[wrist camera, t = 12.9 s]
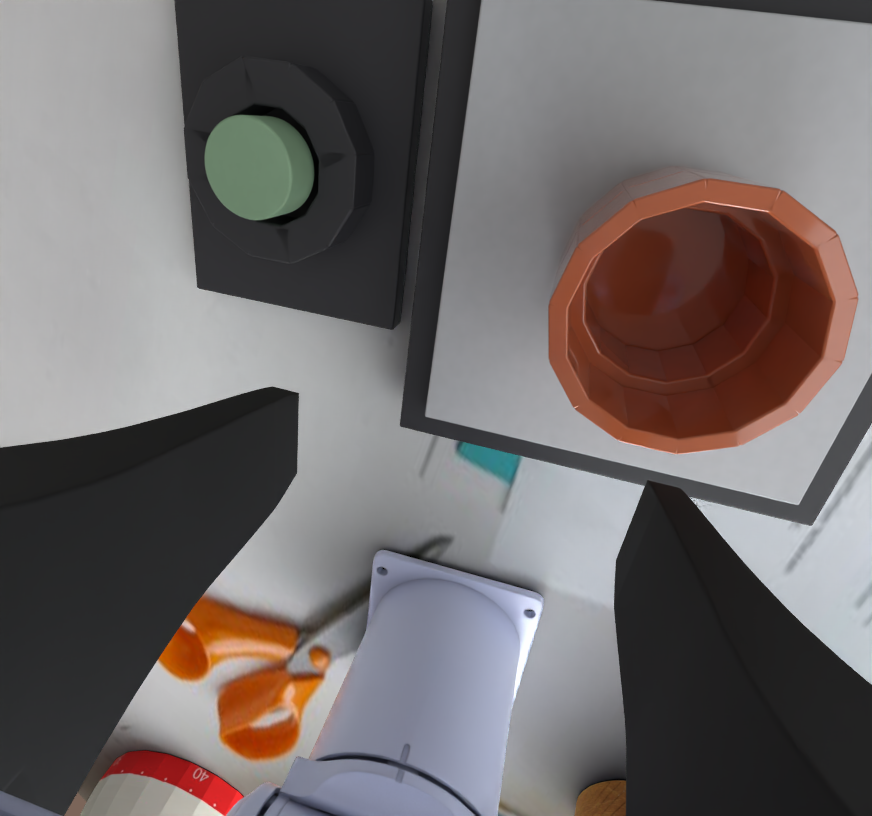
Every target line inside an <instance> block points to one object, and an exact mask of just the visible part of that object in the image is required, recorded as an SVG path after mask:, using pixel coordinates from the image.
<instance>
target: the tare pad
mask: <svg viewBox="0 0 872 816" xmlns="http://www.w3.org/2000/svg"><path fill="white" fill-rule="evenodd" d="M432 4H433V2H432V0H175V11H176V24H177V36H178V49H179V62H180V74H181V87H182V99H183V112H184V125H185V127H184V136H185V149H186V161H187V174H188V179H189V188H190V200H191V213H192V226H193V238H194V251H195V263H196V276H197V287H198V288H199V289H204V290H208V291H213V292H218V293H222V294H227V295H232V296H236V297H241V298H246V299H250V300H255V301H260V302H264V303H269V304H274V305H279V306H283V307H288V308H293V309H297V310H302V311H307V312H311V313H316V314H321V315H325V316H330V317H335V318H339V319H344V320H349V321H353V322H358V323H363V324H367V325H372V326H377V327H381V328H386V329H391V330H393V329H394V328H395V327H396V326H397V325H398V324H399V323H400V319H401V309H402V299H403V289H404V279H405V270H406V260H407V250H408V240H409V230H410V220H411V211H412V201H413V191H414V181H415V171H416V162H417V152H418V142H419V132H420V122H421V112H422V103H423V93H424V83H425V73H426V63H427V54H428V44H429V34H430V24H431V14H432ZM234 115H255V116H272V117H276V118H279V119H282V120H284V121H286V122H287V123H289V124H290V125H292V126H293V127H294V128H295V129H296V130H297V131H298V132H299V133H300V134H301V136H302V137H303V138H304V140H305V141H306V143H307V145H308V147H309V149H310V152H311V155H312V158H313V163H314V182H313V187H312V190H311V192H310V195H309V197H308V198H307V200H306V201H305V202H304V204H303V205H302V206H301V207H299V208H298V209H296V210H295V211H293V212H290V213H287V214H283V215H280V216H276V217H272V218H268V219H264V220H249V219H245V218H243V217H240V216H238V215H236V214H235V213H233V212H232V211H230V210H229V209H228V208H226V207H225V206H224V205H223V204H222V203H221V201H220V200H219V199H218V198H217V196H216V195H215V193H214V191H213V190H212V188H211V185H210V183H209V181H208V178H207V174H206V170H205V148H206V143H207V140H208V138H209V136H210V134H211V132H212V131H213V129H214V128H215V127H216V126H217V125H218V124H219V123H220V122H221V121H222V120H224V119H226V118H228V117H230V116H234Z"/></svg>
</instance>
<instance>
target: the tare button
mask: <svg viewBox="0 0 872 816" xmlns="http://www.w3.org/2000/svg"><path fill="white" fill-rule="evenodd" d="M205 170H206V174H207V178H208V181H209V183H210V185H211V188H212V190H213V191H214V193H215V195H216V196H217V198H218V199H219V200H220V201H221V203H222V204H223V205H224V206H225V207H226V208H228V209H229V210H230V211H232V212H233V213H235V214H236V215H238V216H240V217H243V218H245V219H249V220H264V219H268V218H272V217H276V216H280V215H283V214H287V213H290V212H293V211H295V210H296V209H298V208H299V207H301V206H302V205H303V204H304V202H305V201H306V200H307V198H308V197H309V195H310V192H311V190H312V187H313V182H314V163H313V158H312V155H311V152H310V149H309V147H308V145H307V143H306V141H305V140H304V138H303V137H302V136H301V134H300V133H299V132H298V131H297V130H296V129H295V128H294V127H293V126H292V125H290V124H289V123H287V122H286V121H284V120H282V119H279V118H276V117H272V116H255V115H234V116H230V117H228V118H226V119H224V120H222V121H221V122H220V123H219V124H218V125H217V126H216V127H215V128H214V129H213V131H212V132H211V134H210V136H209V138H208V140H207V143H206V148H205Z"/></svg>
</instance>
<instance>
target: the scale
mask: <svg viewBox="0 0 872 816" xmlns="http://www.w3.org/2000/svg"><path fill="white" fill-rule="evenodd" d="M677 165H678V166H685V167H691V168H698V169H705V170H711V171H718V172H724V173H727V174H731V175H734V176H737V177H741V178H744V179H749V180H752V181H755V182H759V183H762V184H766V185H769V186H773V187H776V188H779V189H781V190H784V191H786V192H787V193H788V194H789V195H791V196H792V197H793V198H795V199H796V200H797V201H798V202H800V203H801V204H802V205H803V206H805V207H806V208H807V209H809V210H810V211H811V212H812V213H814V214H815V215H816V216H817V217H819V218H820V219H821V220H823V221H824V222H825V223H826V224H828V225H829V226H830V227H832V228H833V229H834V230H835V231H836V232H837V234H838V235H839V237H840V240H841V243H842V246H843V249H844V252H845V255H846V258H847V260H848V263H849V266H850V269H851V272H852V275H853V278H854V281H855V284H856V287H857V290H858V293H859V294H858V298H859V300H858V304H857V308H856V312H855V316H854V320H853V325H852V329H851V333H850V337H849V341H848V346H847V350H846V354H845V358H844V361H842V364H841V366H840V367H839V368H838V369H837V370H836V372H835V373H834V374H833V375H832V376H831V378H830V379H829V380H828V381H827V382H826V384H825V385H824V386H823V387H822V388H821V390H820V391H819V392H818V393H817V394H816V396H815V397H814V398H813V399H812V400H811V402H810V403H809V404H808V405H807V406H806V408H805V409H804V410H803V411H802V412H801V413H799V415H798V416H796V417H794V418H792V419H790V420H788V421H787V422H785V423H783V424H781V425H779V426H777V427H775V428H773V429H772V430H770V431H768V432H766V433H764V434H762V435H760V436H758V437H757V438H755V439H753V440H751V441H749V442H747V443H745V444H743V445H739V446H738V447H731V448H723V449H716V450H709V451H701V452H694V453H687V454H671V453H666V452H662V451H658V450H653V449H649V448H645V447H640V446H636V445H632V444H627V443H623V442H620V441H618V440H616V439H615V438H613V437H612V436H611V435H609V434H608V433H606V432H605V431H604V430H602V429H601V428H600V427H598V426H597V425H595V424H594V423H593V422H591V421H590V420H589V419H587V418H586V417H584V416H583V415H582V414H580V413H579V412H578V411H576V410H575V408H573V407H572V405H571V403H570V401H569V399H568V397H567V395H566V393H565V391H564V389H563V388H562V386H561V384H560V382H559V380H558V378H557V376H556V374H555V372H554V370H553V369H552V367H551V365H550V363H549V359H548V305H549V300H550V296H551V292H552V288H553V284H554V280H555V277H556V273H557V269H558V265H559V261H560V257H561V255H562V253H563V251H564V249H565V247H566V245H567V242H568V240H569V238H570V236H571V234H572V232H573V230H574V228H575V226H576V224H577V222H578V220H579V218H580V217H582V215H583V213H584V212H585V211H587V210H588V209H589V208H590V207H591V206H592V205H594V204H595V203H596V202H597V201H598V200H599V199H601V198H602V197H603V196H604V195H605V194H606V193H608V192H609V191H610V190H611V189H612V188H613V187H615V186H616V185H617V184H619V183H622V181H623V180H626V179H629V178H632V177H636V176H639V175H642V174H645V173H649V172H652V171H655V170H658V169H662V168H665V167H668V166H677ZM871 423H872V0H447V8H446V17H445V26H444V35H443V44H442V53H441V62H440V71H439V80H438V89H437V98H436V107H435V116H434V124H433V133H432V142H431V151H430V160H429V169H428V178H427V187H426V196H425V205H424V214H423V223H422V232H421V241H420V249H419V258H418V267H417V276H416V285H415V294H414V303H413V312H412V321H411V330H410V339H409V348H408V357H407V366H406V375H405V383H404V392H403V401H402V410H401V419H400V426H401V427H404V428H408V429H412V430H416V431H421V432H425V433H429V434H433V435H437V436H441V437H445V438H449V439H454V440H458V441H462V442H466V443H470V444H474V445H478V446H482V447H487V448H491V449H495V450H499V451H503V452H507V453H511V454H515V455H520V456H524V457H528V458H532V459H536V460H540V461H544V462H548V463H553V464H557V465H561V466H565V467H569V468H573V469H577V470H581V471H586V472H590V473H594V474H598V475H602V476H606V477H610V478H614V479H619V480H623V481H627V482H631V483H635V484H639V485H643V486H645V485H646V482H647V480H650V481H654V482H658V483H662V484H666V485H670V486H674V487H678V488H681V489H682V490H683V491H684V492H685V493H686V494H687V496H689V497H693V498H697V499H701V500H705V501H709V502H713V503H718V504H722V505H726V506H730V507H734V508H738V509H742V510H747V511H751V512H755V513H759V514H763V515H767V516H771V517H775V518H780V519H784V520H788V521H792V522H796V523H800V524H804V525H808V526H812V525H813V523H814V521H815V520H816V518H817V516H818V514H819V513H820V511H821V509H822V508H823V506H824V504H825V502H826V501H827V499H828V497H829V496H830V494H831V492H832V490H833V489H834V487H835V485H836V484H837V482H838V480H839V478H840V477H841V475H842V473H843V471H844V470H845V468H846V466H847V465H848V463H849V461H850V459H851V458H852V456H853V454H854V453H855V451H856V449H857V447H858V446H859V444H860V442H861V441H862V439H863V437H864V435H865V434H866V432H867V430H868V429H869V427H870V425H871Z"/></svg>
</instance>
